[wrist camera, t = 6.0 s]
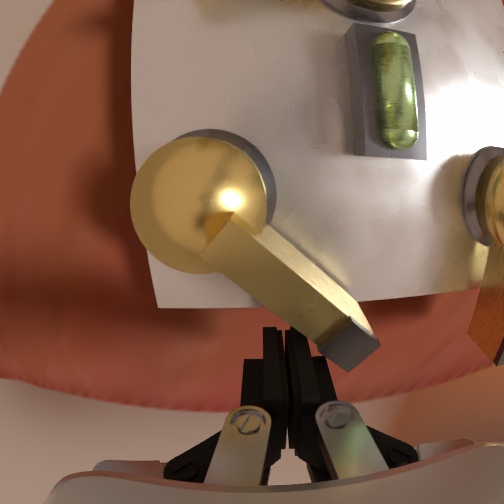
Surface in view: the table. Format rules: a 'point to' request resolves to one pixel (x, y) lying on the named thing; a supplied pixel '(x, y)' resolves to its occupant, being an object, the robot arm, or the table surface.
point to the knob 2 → (491, 263)
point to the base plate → (334, 130)
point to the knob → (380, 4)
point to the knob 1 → (240, 242)
